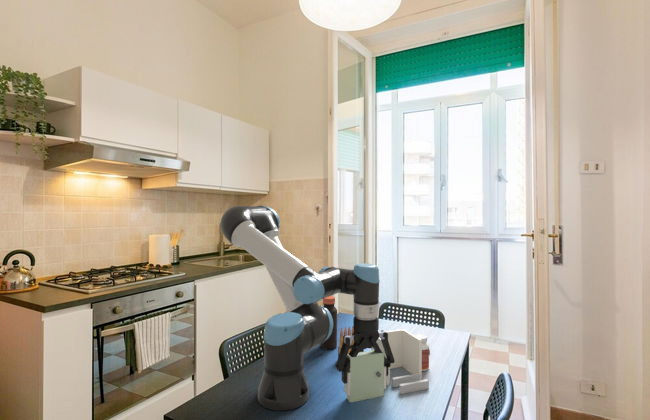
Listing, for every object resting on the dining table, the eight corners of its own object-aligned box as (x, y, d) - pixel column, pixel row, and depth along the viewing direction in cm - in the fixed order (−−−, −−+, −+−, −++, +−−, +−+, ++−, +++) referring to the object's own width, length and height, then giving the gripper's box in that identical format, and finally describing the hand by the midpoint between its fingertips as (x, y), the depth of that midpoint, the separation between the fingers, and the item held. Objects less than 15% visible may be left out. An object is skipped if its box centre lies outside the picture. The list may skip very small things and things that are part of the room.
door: (351, 404, 99) (351, 359, 99) (346, 397, 102) (347, 354, 102) (385, 397, 103) (385, 354, 103) (379, 391, 106) (380, 349, 106)
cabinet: (396, 395, 104) (397, 352, 104) (371, 370, 120) (371, 333, 120) (432, 387, 108) (433, 346, 108) (403, 365, 124) (403, 329, 124)
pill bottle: (432, 370, 120) (432, 339, 120) (416, 372, 119) (416, 340, 119) (423, 362, 126) (423, 332, 126) (407, 364, 125) (408, 333, 125)
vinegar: (336, 343, 143) (337, 295, 143) (336, 350, 137) (337, 299, 137) (320, 343, 144) (321, 295, 144) (319, 349, 137) (320, 299, 137)
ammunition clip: (340, 362, 126) (340, 329, 126) (337, 360, 128) (338, 327, 128) (364, 355, 132) (364, 324, 132) (361, 354, 133) (361, 323, 133)
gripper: (333, 324, 95) (333, 403, 95) (406, 316, 103) (406, 389, 103) (324, 316, 102) (324, 390, 102) (393, 309, 110) (393, 377, 110)
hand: (365, 389), depth 103 cm, fingers closed on door, 11 cm apart
